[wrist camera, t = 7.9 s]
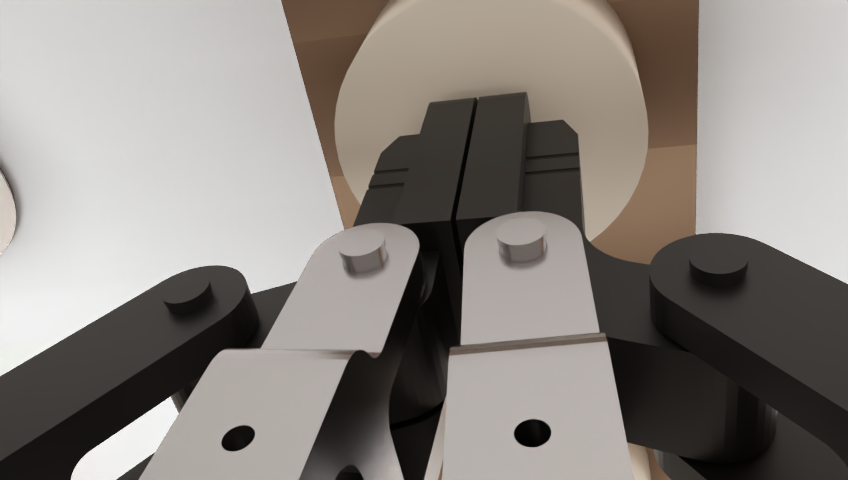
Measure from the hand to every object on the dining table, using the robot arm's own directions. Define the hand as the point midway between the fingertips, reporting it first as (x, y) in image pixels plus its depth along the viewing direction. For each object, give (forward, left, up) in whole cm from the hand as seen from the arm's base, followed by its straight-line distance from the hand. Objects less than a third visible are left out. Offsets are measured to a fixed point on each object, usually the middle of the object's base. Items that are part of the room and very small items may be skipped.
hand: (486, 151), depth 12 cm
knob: (0, 0, -8) cm, 8 cm away
